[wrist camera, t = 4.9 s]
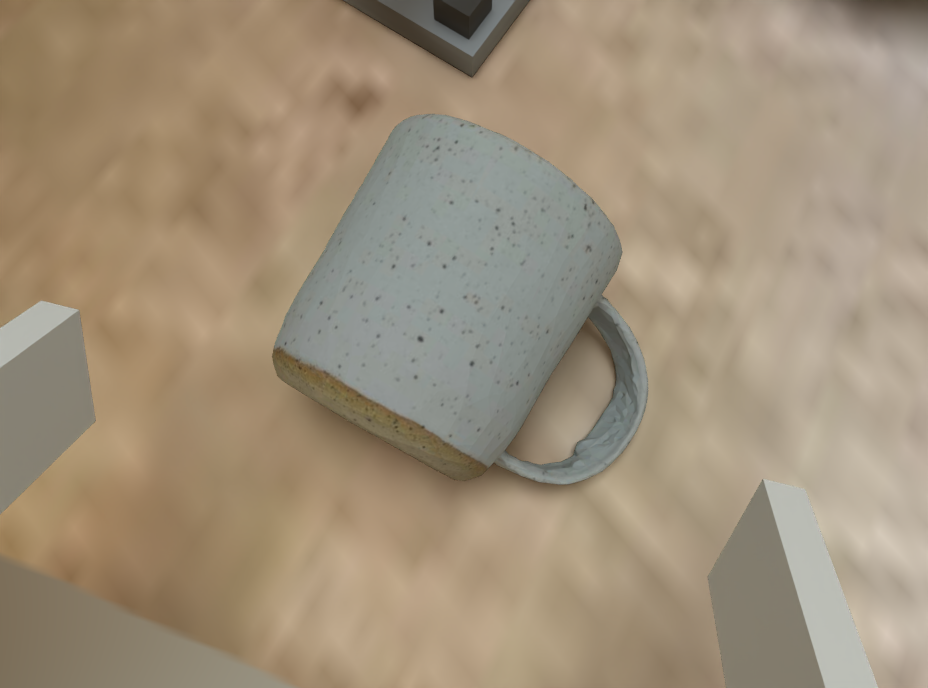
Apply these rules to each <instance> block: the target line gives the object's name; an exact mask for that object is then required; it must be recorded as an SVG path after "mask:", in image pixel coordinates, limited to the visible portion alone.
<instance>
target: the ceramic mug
mask: <svg viewBox="0 0 928 688" xmlns="http://www.w3.org/2000/svg"><path fill="white" fill-rule="evenodd" d="M621 255H622V248H621V243H620V240H619V237H618V235H617V233H616V230H615V228H614V226H613V224H612V223H611V222H610V221H609V219H608V218H607V216H606V215H605V214H604V212H603V211H602V210H601V209H600V207H599V206H598V205H597V204H596V203H595V202H594V200H593V199H592V198H591V197H590V196H589V195H588V194H586V193H585V192H584V191H583V190H582V189H580V188H579V187H578V186H577V185H576V184H575V183H574V182H573V181H572V180H571V179H570V178H569V177H567V176H566V175H565V174H564V173H562V172H561V171H560V170H558V169H557V168H556V167H555V166H553V165H552V164H551V163H549V162H548V161H547V160H545V159H543V158H542V157H540V156H538V155H536V154H535V153H533V152H532V151H530V150H529V149H527V148H526V147H524V146H522V145H520V144H519V143H517V142H515V141H513V140H511V139H509V138H507V137H506V136H504V135H502V134H499V133H496V132H493V131H490V130H488V129H486V128H483V127H481V126H479V125H476V124H474V123H471V122H469V121H466V120H462V119H458V118H455V117H451V116H447V115H437V114H425V115H416V116H412V117H409V118H407V119H405V120H403V121H402V122H401V123H400V124H398V125H397V126H396V127H395V128H394V129H393V131H392V132H391V134H390V136H389V138H388V140H387V141H386V143H385V145H384V146H383V148H382V150H381V152H380V153H379V155H378V157H377V159H376V161H375V163H374V164H373V166H372V168H371V169H370V171H369V173H368V174H367V176H366V178H365V180H364V182H363V184H362V185H361V187H360V188H359V190H358V191H357V193H356V195H355V197H354V199H353V200H352V202H351V204H350V205H349V207H348V208H347V210H346V212H345V213H344V215H343V217H342V219H341V220H340V222H339V224H338V226H337V228H336V229H335V231H334V233H333V235H332V236H331V238H330V240H329V242H328V244H327V246H326V248H325V250H324V251H323V253H322V255H321V256H320V258H319V260H318V261H317V263H316V264H315V266H314V268H313V269H312V271H311V272H310V274H309V276H308V277H307V279H306V280H305V282H304V284H303V285H302V287H301V289H300V290H299V292H298V294H297V296H296V297H295V299H294V301H293V303H292V305H291V307H290V309H289V311H288V312H287V314H286V316H285V319H284V322H283V325H282V327H281V330H280V332H279V334H278V337H277V339H276V342H275V345H274V350H273V355H272V358H273V363H274V367H275V370H276V373H277V376H278V377H279V378H280V379H281V380H282V381H284V382H285V383H287V384H288V385H290V386H292V387H293V388H295V389H296V390H298V391H300V392H301V393H303V394H304V395H306V396H308V397H310V398H311V399H313V400H315V401H316V402H318V403H320V404H321V405H323V406H325V407H326V408H328V409H330V410H331V411H333V412H334V413H336V414H338V415H339V416H341V417H343V418H344V419H346V420H348V421H349V422H351V423H353V424H355V425H356V426H358V427H360V428H362V429H364V430H365V431H367V432H369V433H371V434H373V435H375V436H376V437H378V438H380V439H382V440H384V441H385V442H387V443H389V444H391V445H392V446H394V447H396V448H398V449H400V450H401V451H403V452H405V453H407V454H408V455H410V456H412V457H414V458H415V459H417V460H419V461H421V462H422V463H424V464H426V465H428V466H429V467H431V468H433V469H435V470H437V471H439V472H441V473H443V474H445V475H447V476H448V477H450V478H452V479H454V480H461V481H466V480H469V479H472V478H475V477H478V476H481V475H482V474H483V473H484V472H485V471H486V470H487V469H488V468H489V467H490V466H491V465H492V464H493V463H495V464H497V465H498V466H500V467H502V468H505V469H507V470H509V471H511V472H514V473H516V474H518V475H520V476H523V477H525V478H528V479H531V480H534V481H538V482H544V483H552V484H559V485H560V484H571V483H575V482H578V481H582V480H585V479H587V478H590V477H592V476H594V475H596V474H598V473H600V472H602V471H603V470H604V469H605V468H607V467H608V466H609V465H610V464H611V463H612V462H613V461H614V460H615V459H616V458H617V457H618V456H619V455H620V454H621V453H622V452H623V451H624V449H625V448H626V447H627V445H628V444H629V442H630V441H631V439H632V437H633V436H634V434H635V432H636V430H637V428H638V426H639V424H640V422H641V420H642V417H643V414H644V412H645V408H646V403H647V397H648V378H647V372H646V366H645V361H644V358H643V355H642V352H641V350H640V347H639V345H638V342H637V340H636V338H635V337H634V335H633V333H632V331H631V329H630V327H629V326H628V325H627V323H626V322H625V321H624V320H623V318H622V317H621V316H620V314H619V313H618V312H617V310H616V309H615V308H614V307H613V306H612V305H611V304H610V303H609V301H608V300H607V299H606V298H604V297H603V296H602V293H603V291H604V290H605V288H606V287H607V285H608V283H609V282H610V280H611V278H612V277H613V275H614V274H615V272H616V271H617V268H618V265H619V262H620V259H621ZM587 317H589V318H590V320H591V321H592V322H593V323H594V325H595V326H596V327H597V329H598V330H599V331H600V333H601V335H602V336H603V338H604V340H605V341H606V343H607V345H608V346H609V348H610V350H611V353H612V357H613V360H614V364H615V371H616V387H615V388H614V392H613V398H612V400H611V402H610V404H609V405H608V407H607V408H606V410H605V411H604V413H603V414H602V416H601V417H600V419H599V420H598V422H597V423H596V425H595V426H594V428H593V430H592V431H591V432H590V433H589V434H588V436H587V437H586V438H585V439H583V440H581V441H579V442H578V443H577V445H576V448H575V451H574V454H573V456H572V457H570V458H568V459H566V460H564V461H562V462H556V463H548V464H544V465H538V464H533V463H531V462H528V461H521V460H518V459H517V458H516V457H513V456H511V455H509V454H508V453H507V452H506V451H505V449H506V448H507V447H508V445H509V444H510V443H511V441H512V440H513V439H514V437H515V436H516V434H517V433H518V431H519V430H520V428H521V427H522V425H523V423H524V421H525V420H526V418H527V416H528V414H529V412H530V411H531V409H532V407H533V405H534V403H535V402H536V400H537V398H538V396H539V395H540V393H541V391H542V389H543V388H544V386H545V384H546V382H547V381H548V379H549V377H550V375H551V374H552V372H553V371H554V369H555V368H556V366H557V365H558V363H559V362H560V360H561V359H562V357H563V356H564V354H565V352H566V351H567V349H568V348H569V346H570V345H571V343H572V342H573V340H574V339H575V337H576V335H577V334H578V332H579V330H580V329H581V327H582V325H583V324H584V322H585V321H586V319H587Z"/></svg>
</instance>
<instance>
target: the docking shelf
mask: <svg viewBox="0 0 928 688" xmlns="http://www.w3.org/2000/svg"><path fill="white" fill-rule="evenodd" d="M343 1H345V2H347V3H348V4H350V5H352V6H354V7H355V8H357V9H359V10H360V11H362V12H364V13H365V14H367V15H369V16H370V17H372V18H374V19H375V20H377V21H379V22H380V23H382V24H384V25H385V26H387V27H389V28H390V29H392V30H394V31H395V32H397V33H399V34H401V35H402V36H404V37H406V38H407V39H409V40H411V41H412V42H414V43H416V44H417V45H419V46H421V47H422V48H424V49H426V50H427V51H429V52H431V53H432V54H434V55H436V56H437V57H439V58H441V59H443V60H444V61H446V62H448V63H449V64H451V65H453V66H454V67H456V68H458V69H459V70H461V71H463V72H464V73H466V74H468V75H469V76H471V77H473V75H474V74H475V73H476V71H477V70H478V69H479V67H480V66H481V65H482V63H483V62H484V61H485V59H486V58H487V57H488V55H489V54H490V53H491V51H492V50H493V49H494V47H495V46H496V45H497V43H498V42H499V41H500V39H501V38H502V37H503V35H504V34H505V33H506V31H507V30H508V29H509V27H510V26H511V24H512V23H513V22H514V20H515V19H516V18H517V16H518V15H519V14H520V12H521V11H522V10H523V8H524V7H525V6H526V4H527V3H528V2H529V0H343Z"/></svg>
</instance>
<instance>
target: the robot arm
mask: <svg viewBox="0 0 928 688" xmlns="http://www.w3.org/2000/svg"><path fill="white" fill-rule="evenodd" d="M95 421H96V419H95V413H94V406H93V399H92V393H91V386H90V379H89V373H88V366H87V359H86V353H85V346H84V339H83V332H82V326H81V319H80V312H79V310H77V309H73V308H69V307H65V306H61V305H57V304H53V303H49V302H45V301H40V302H38V303H37V304H35V305H34V306H32V307H31V308H29V309H28V310H26V311H25V312H23V313H22V314H20V315H19V316H17V317H16V318H14V319H13V320H11V321H10V322H8V323H7V324H5V325H4V326H2V327H1V328H0V514H1V513H2V512H3V511H4V510H5V509H6V508H7V507H8V506H9V505H10V504H11V503H12V502H13V501H14V500H15V499H16V498H17V497H19V496H20V495H21V494H22V493H23V492H24V491H25V490H26V489H27V488H28V487H29V486H30V485H31V484H32V483H33V482H34V481H35V480H36V479H37V478H38V477H39V476H40V475H41V474H42V473H43V472H44V471H45V470H46V469H47V468H48V467H49V466H50V465H51V464H52V463H53V462H54V461H55V460H56V459H57V458H58V457H59V456H60V455H61V454H62V453H63V452H64V451H65V450H67V449H68V448H69V447H70V446H71V445H72V444H73V443H74V442H75V441H76V440H77V439H78V438H79V437H80V436H81V435H82V434H83V433H84V432H85V431H86V430H87V429H88V428H89V427H90V426H91V425H92V424H93V423H94V422H95ZM708 583H709V589H710V594H711V600H712V606H713V612H714V618H715V624H716V630H717V636H718V642H719V648H720V654H721V660H722V666H723V672H724V678H725V684H726V688H878V686H877V683H876V681H875V678H874V675H873V672H872V670H871V667H870V664H869V662H868V659H867V656H866V653H865V651H864V648H863V645H862V643H861V640H860V637H859V634H858V632H857V629H856V626H855V624H854V621H853V618H852V615H851V613H850V610H849V607H848V604H847V602H846V599H845V596H844V594H843V591H842V588H841V585H840V583H839V580H838V577H837V575H836V572H835V569H834V566H833V564H832V561H831V558H830V556H829V553H828V550H827V547H826V545H825V542H824V539H823V537H822V534H821V531H820V528H819V526H818V523H817V520H816V517H815V515H814V512H813V509H812V507H811V504H810V501H809V498H808V496H807V493H806V490H805V489H802V488H798V487H794V486H790V485H786V484H782V483H778V482H774V481H770V480H766V479H763V480H762V482H761V483H760V485H759V487H758V489H757V490H756V492H755V494H754V496H753V497H752V499H751V501H750V503H749V505H748V506H747V508H746V510H745V512H744V513H743V515H742V517H741V519H740V520H739V522H738V524H737V526H736V527H735V529H734V531H733V533H732V535H731V536H730V538H729V540H728V542H727V543H726V545H725V547H724V549H723V550H722V552H721V554H720V556H719V557H718V559H717V561H716V563H715V565H714V566H713V568H712V570H711V572H710V573H709V575H708Z"/></svg>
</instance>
